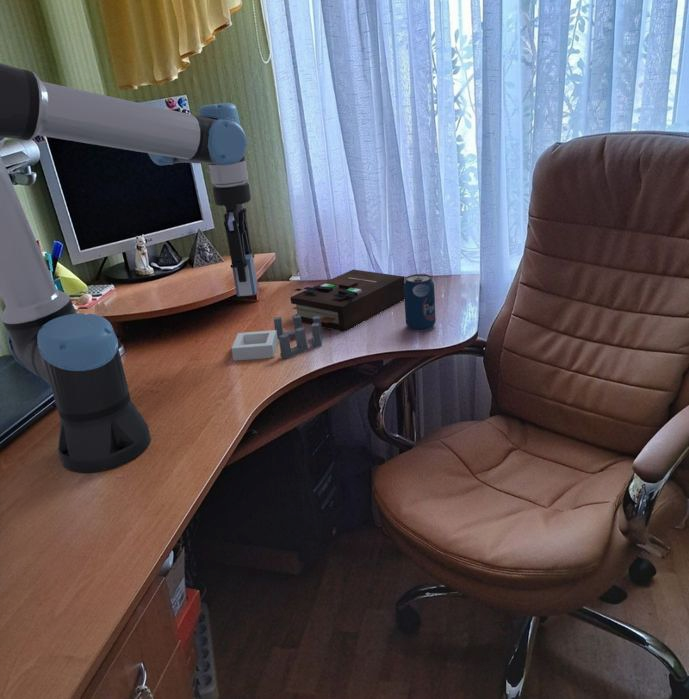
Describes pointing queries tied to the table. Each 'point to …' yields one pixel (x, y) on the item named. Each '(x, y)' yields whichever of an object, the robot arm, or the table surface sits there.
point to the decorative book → (349, 299)
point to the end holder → (255, 345)
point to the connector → (251, 273)
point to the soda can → (419, 302)
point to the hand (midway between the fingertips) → (247, 291)
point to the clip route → (297, 336)
